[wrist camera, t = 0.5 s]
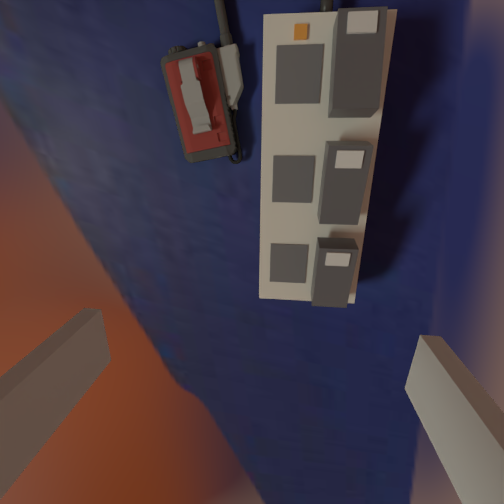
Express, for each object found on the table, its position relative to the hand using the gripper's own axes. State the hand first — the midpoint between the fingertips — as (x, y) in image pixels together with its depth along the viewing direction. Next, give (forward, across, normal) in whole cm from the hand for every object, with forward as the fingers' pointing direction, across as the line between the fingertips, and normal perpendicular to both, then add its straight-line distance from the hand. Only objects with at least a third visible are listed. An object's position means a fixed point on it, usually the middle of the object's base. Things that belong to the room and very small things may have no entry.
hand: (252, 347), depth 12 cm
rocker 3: (+21, +7, -6) cm, 23 cm away
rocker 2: (+22, +7, +4) cm, 23 cm away
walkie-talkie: (+28, -9, +15) cm, 33 cm away
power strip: (+28, +5, +6) cm, 29 cm away
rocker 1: (+22, +7, +14) cm, 27 cm away
